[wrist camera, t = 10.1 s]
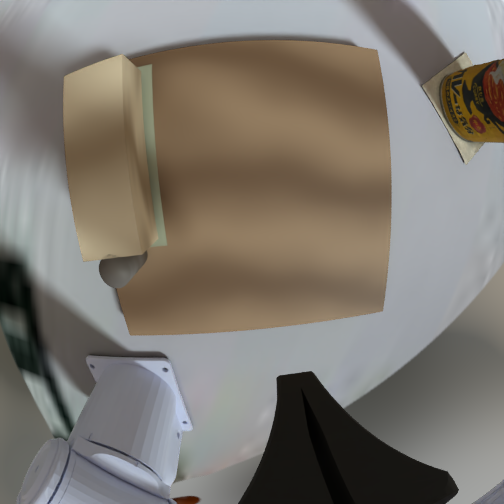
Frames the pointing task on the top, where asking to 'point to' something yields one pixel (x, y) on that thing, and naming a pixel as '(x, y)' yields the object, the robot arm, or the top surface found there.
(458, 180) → the top surface
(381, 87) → the stool seat
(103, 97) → the folding leg
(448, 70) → the condiment
